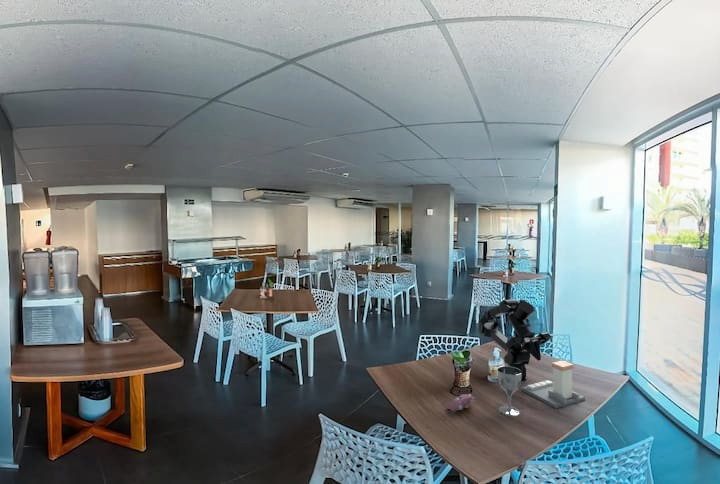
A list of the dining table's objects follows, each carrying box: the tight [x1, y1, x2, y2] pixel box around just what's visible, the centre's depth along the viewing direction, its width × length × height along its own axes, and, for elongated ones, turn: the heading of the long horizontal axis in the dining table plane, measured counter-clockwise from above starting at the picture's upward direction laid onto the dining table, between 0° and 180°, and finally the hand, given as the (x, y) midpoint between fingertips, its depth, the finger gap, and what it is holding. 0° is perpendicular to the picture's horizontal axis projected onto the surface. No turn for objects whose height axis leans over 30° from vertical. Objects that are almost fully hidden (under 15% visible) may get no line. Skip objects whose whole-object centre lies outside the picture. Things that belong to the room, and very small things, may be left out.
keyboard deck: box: [520, 379, 586, 409], centre depth 140 cm, size 16×15×3 cm
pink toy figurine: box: [446, 393, 476, 411], centre depth 131 cm, size 10×5×7 cm, turn 118°
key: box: [551, 360, 574, 399], centre depth 136 cm, size 5×6×12 cm
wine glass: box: [496, 365, 522, 417], centre depth 129 cm, size 8×8×15 cm
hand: (539, 360), depth 144 cm, fingers closed
